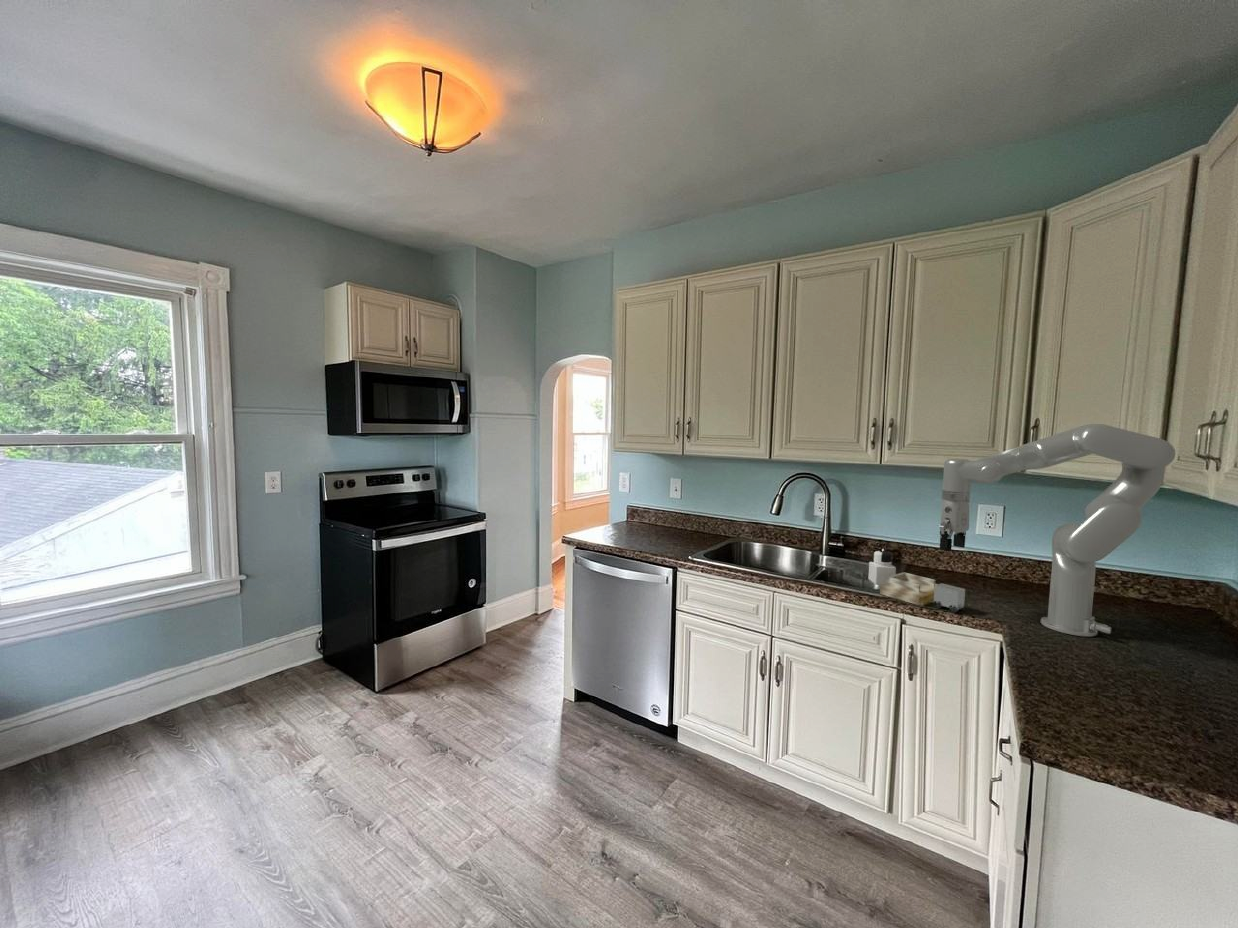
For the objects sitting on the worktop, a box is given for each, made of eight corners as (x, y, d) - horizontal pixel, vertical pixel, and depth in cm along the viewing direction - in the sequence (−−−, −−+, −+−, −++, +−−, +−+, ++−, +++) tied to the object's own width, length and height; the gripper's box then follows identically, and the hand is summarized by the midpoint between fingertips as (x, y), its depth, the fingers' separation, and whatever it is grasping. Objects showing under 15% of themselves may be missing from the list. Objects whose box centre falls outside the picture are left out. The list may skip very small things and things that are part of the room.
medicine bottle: (886, 580, 194) (888, 550, 193) (895, 585, 187) (897, 554, 186) (868, 579, 194) (869, 549, 193) (875, 584, 187) (877, 553, 186)
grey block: (963, 610, 162) (965, 588, 161) (956, 613, 159) (958, 591, 158) (940, 604, 167) (941, 583, 167) (933, 606, 165) (934, 585, 164)
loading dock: (949, 595, 176) (950, 580, 176) (922, 605, 165) (923, 589, 165) (908, 584, 188) (908, 570, 188) (880, 593, 177) (880, 578, 176)
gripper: (956, 500, 152) (953, 554, 154) (980, 496, 162) (976, 547, 163) (930, 497, 159) (927, 549, 160) (954, 493, 168) (951, 543, 170)
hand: (952, 548), depth 162 cm, fingers open, 9 cm apart
